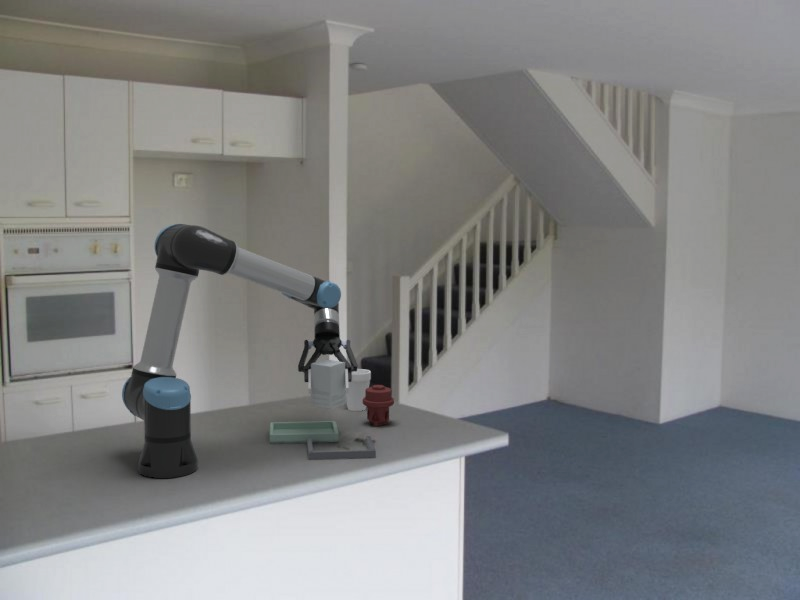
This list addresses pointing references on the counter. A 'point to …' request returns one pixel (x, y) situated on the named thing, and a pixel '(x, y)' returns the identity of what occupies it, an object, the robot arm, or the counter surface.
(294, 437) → the tray
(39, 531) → the counter surface
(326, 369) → the supplement box
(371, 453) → the dock
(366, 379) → the foam cup
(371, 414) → the mechanical component
